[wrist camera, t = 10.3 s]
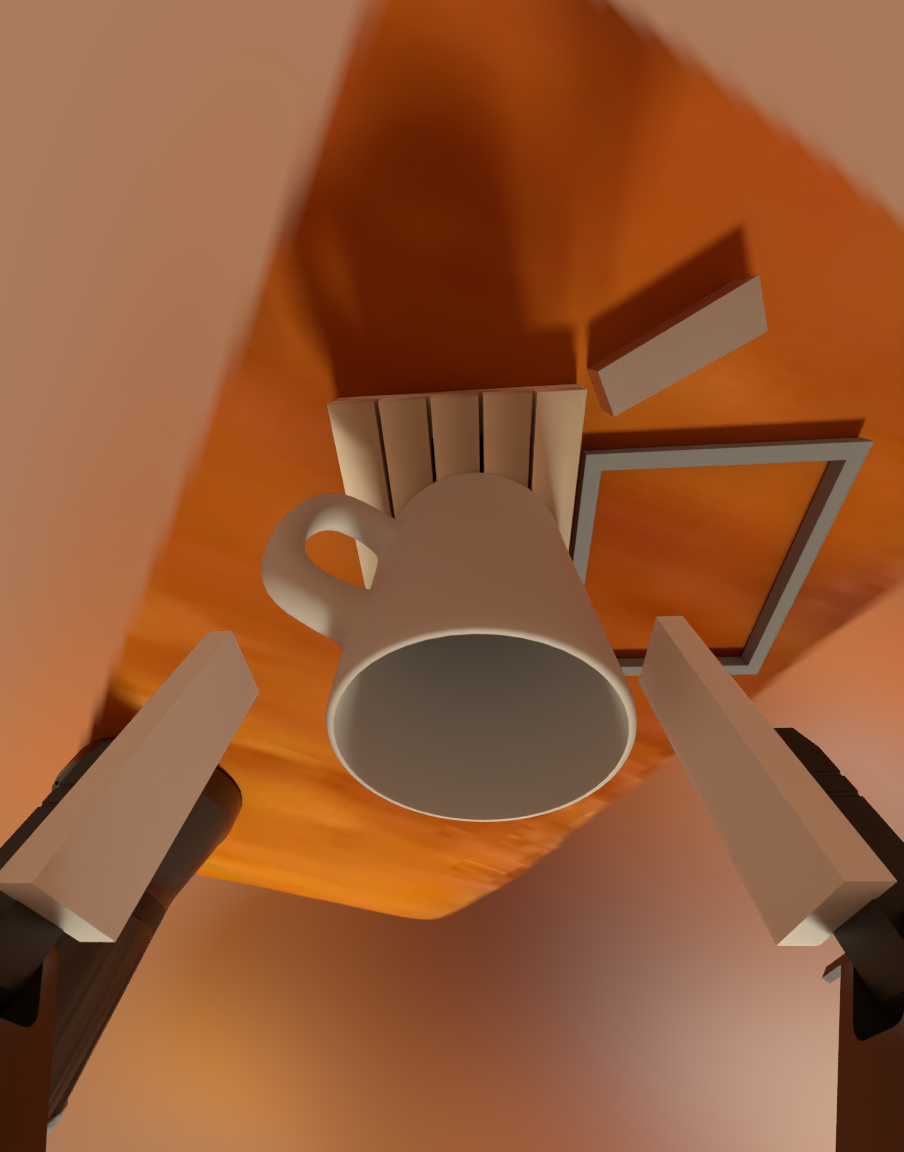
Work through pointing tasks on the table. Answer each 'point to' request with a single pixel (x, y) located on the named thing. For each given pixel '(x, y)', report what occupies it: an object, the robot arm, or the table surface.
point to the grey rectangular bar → (680, 345)
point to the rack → (459, 445)
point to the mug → (460, 652)
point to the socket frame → (823, 508)
